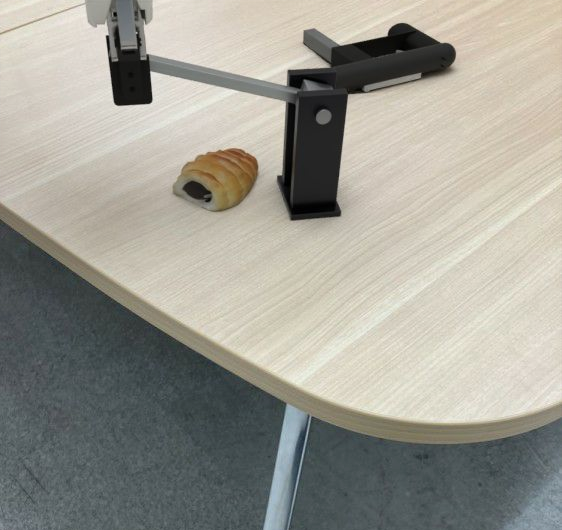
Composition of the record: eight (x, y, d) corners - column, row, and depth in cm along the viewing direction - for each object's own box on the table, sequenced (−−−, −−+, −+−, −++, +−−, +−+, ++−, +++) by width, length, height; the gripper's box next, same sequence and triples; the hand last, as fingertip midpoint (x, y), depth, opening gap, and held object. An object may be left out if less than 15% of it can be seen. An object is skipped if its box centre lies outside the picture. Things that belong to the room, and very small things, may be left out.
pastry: (220, 157, 84) (220, 124, 81) (275, 177, 82) (276, 144, 79) (168, 199, 78) (166, 166, 75) (225, 222, 76) (225, 189, 73)
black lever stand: (290, 226, 76) (298, 102, 67) (276, 185, 81) (281, 64, 71) (340, 221, 77) (355, 99, 68) (323, 181, 82) (334, 61, 72)
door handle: (263, 31, 100) (330, 79, 90) (393, 6, 107) (468, 48, 97) (263, 57, 102) (328, 107, 92) (390, 31, 109) (463, 75, 99)
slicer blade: (106, 79, 64) (113, 44, 62) (105, 62, 66) (111, 27, 64) (328, 126, 71) (340, 96, 69) (320, 110, 73) (331, 80, 71)
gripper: (47, -193, 58) (83, 51, 72) (49, -126, 47) (90, 146, 61) (149, -193, 59) (165, 47, 73) (173, -128, 49) (187, 139, 62)
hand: (131, 90), depth 67 cm, fingers closed on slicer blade, 3 cm apart
